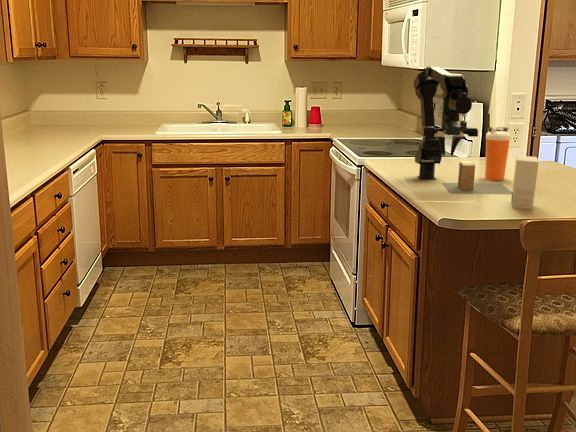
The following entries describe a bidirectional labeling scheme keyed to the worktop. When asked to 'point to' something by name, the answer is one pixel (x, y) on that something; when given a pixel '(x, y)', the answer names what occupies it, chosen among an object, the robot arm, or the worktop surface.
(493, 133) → the shaker bottle
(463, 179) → the block
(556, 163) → the worktop surface
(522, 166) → the skincare box
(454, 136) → the robot arm
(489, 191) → the mat
